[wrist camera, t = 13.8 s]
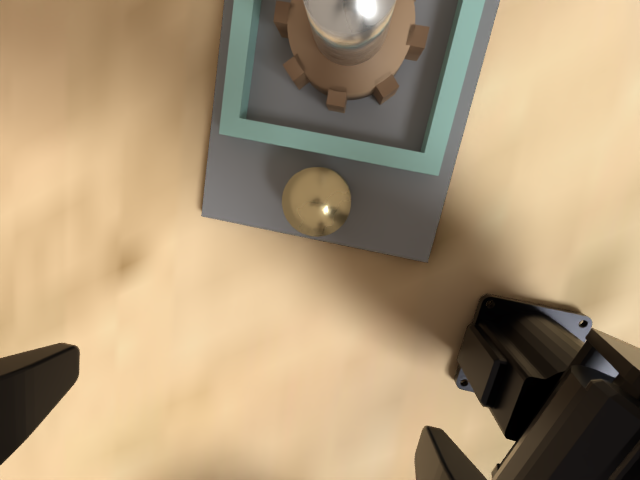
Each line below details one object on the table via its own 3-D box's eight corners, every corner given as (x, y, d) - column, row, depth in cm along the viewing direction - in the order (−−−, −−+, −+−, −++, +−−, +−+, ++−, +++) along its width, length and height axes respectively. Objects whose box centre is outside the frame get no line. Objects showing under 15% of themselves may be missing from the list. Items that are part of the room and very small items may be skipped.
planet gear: (437, -28, 17) (484, -133, 11) (401, 124, 18) (425, 103, 12) (294, -51, 17) (265, -166, 11) (272, 99, 19) (236, 69, 13)
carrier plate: (520, -88, 16) (557, -143, 13) (425, 259, 20) (437, 275, 17) (243, -130, 17) (220, -191, 14) (205, 214, 21) (182, 222, 18)
